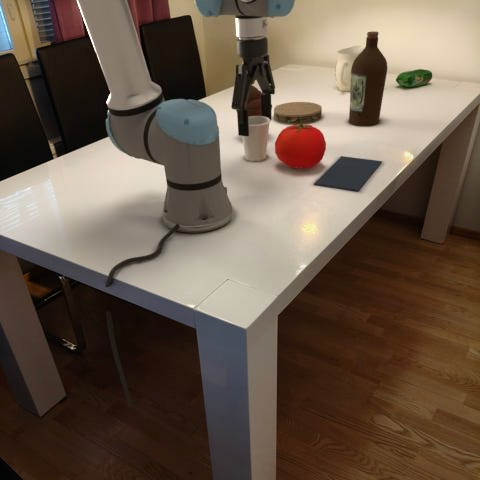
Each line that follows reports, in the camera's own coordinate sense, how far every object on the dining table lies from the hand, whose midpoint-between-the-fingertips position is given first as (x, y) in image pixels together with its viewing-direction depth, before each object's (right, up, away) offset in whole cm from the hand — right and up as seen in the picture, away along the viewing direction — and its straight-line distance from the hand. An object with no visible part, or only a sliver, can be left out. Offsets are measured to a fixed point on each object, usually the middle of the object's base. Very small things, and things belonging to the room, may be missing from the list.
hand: (255, 127), depth 131 cm
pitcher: (+38, +38, +59) cm, 79 cm away
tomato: (+12, -11, -2) cm, 16 cm away
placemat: (+23, -15, -8) cm, 29 cm away
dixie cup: (0, -7, +5) cm, 8 cm away
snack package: (+63, +39, +59) cm, 95 cm away
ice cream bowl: (0, +4, +18) cm, 19 cm away
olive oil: (+36, +12, +25) cm, 45 cm away
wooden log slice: (+15, +16, +33) cm, 40 cm away
